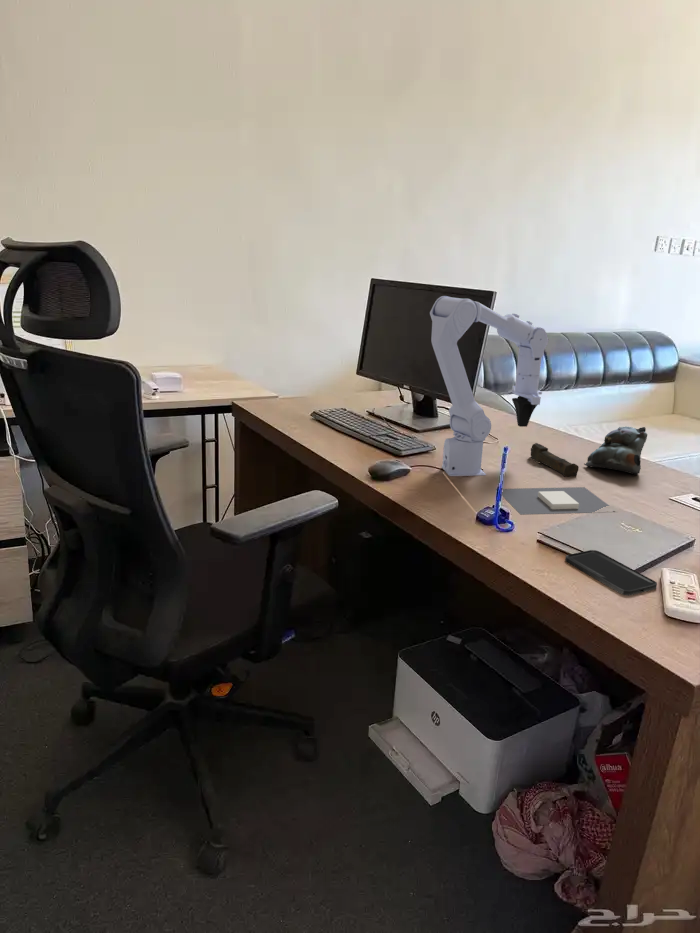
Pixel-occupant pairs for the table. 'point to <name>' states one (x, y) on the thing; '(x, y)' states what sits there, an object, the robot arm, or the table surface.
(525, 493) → the mat
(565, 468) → the hand tool
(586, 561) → the phone
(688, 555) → the table surface
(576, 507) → the tile
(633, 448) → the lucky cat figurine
